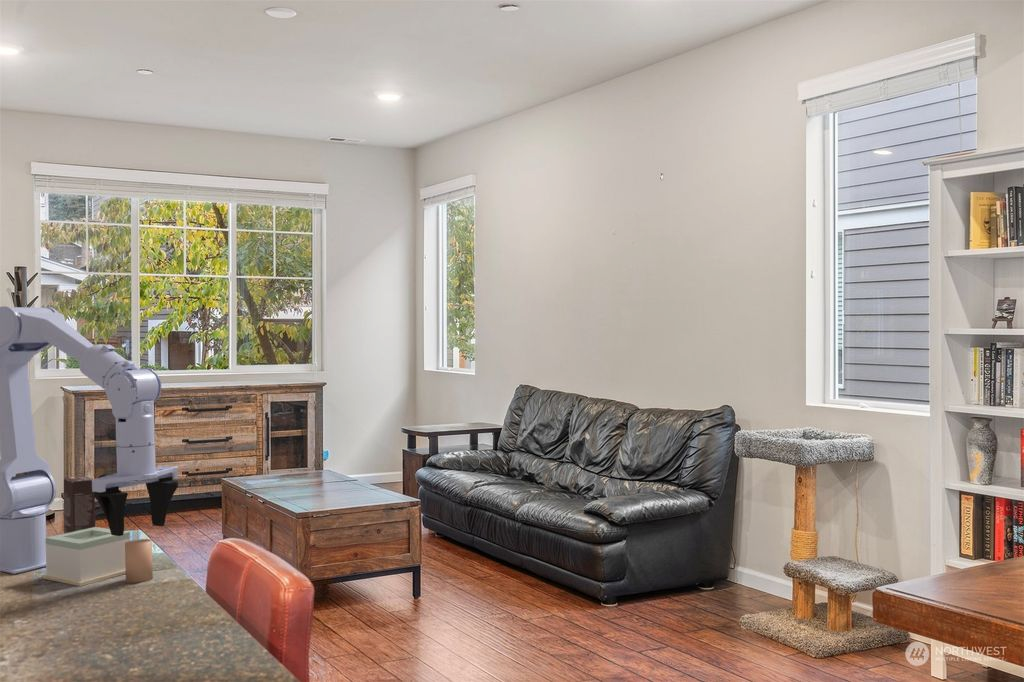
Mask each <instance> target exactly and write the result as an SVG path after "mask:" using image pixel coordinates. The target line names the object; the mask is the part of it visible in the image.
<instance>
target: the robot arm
mask: <svg viewBox="0 0 1024 682" xmlns="http://www.w3.org/2000/svg"><path fill="white" fill-rule="evenodd" d="M49 346H53V347H54V348H56V349H57V350H59V351H61V352H62V353H64V354H65V355H67V356H69V357H70V358H73V359H74V360H75V361H77V362H78V369H79V370H80V372H81V373H82V375H84V376H85V377H87V378H88V379H90V380H91V381H92V382H94V383H95V384H96V385H98V386H99V387H100V388H102V389H103V390H104V391H105V395H106V398H107V400H108V402H109V403H110V405H111V412H112V413H111V415H113V417H114V418H115V442H116V443H115V444H116V446H115V449H116V472H115V473H113V474H109V475H105V476H101V477H96V478H91V479H92V491H93V492H94V497H95V501H97V503H98V504H99V506H100V508H101V510H102V511H103V513H104V515H105V518H106V521H107V524H108V527H109V528H108V529H110V531H111V535H115V536H122V535H123V533H124V531H125V508H126V504H127V503H126V502H127V498H128V495H129V494H128V492H124V491H122V490H121V488H126V487H127V488H128V487H132V486H138V485H144V484H145V486H146V490H147V493H148V496H149V503H150V516H151V517H150V518H151V519H150V520H151V523H152V524H151V525H152V526H155V527H156V526H157V527H164V526H165V523H166V518H167V514H168V511H169V506H170V503H171V501H172V498H173V496H174V494H175V492H176V490H177V489H178V487H179V482H178V480H174V479H179V467H178V466H174V465H169V466H161V467H156V437H155V436H156V435H155V403H156V401H158V399H159V398H160V396H161V393H162V381H161V378H160V377H159V375H158V374H157V373H156V372H155V371H154V369H153V368H151V367H142V368H140V367H137V366H136V365H135V363H134V361H132V360H127V359H126V358H124V357H123V356H121V354H119V353H117V352H116V351H115V349H116V348H115V346H113V345H111V344H100V343H99V344H95V345H94V344H93V343H92V342H90V341H89V340H88V339H87V338H86V337H85V336H83V335H82V333H80V332H79V331H77V330H76V329H75V328H74V327H73V326H72V325H70V324H69V323H68V322H67V321H66V317H65V315H64V314H63V313H61V312H59V311H57V310H56V309H55V308H54V307H52V306H43V307H34V306H33V307H31V306H30V307H28V306H27V307H25V306H24V307H23V306H22V307H20V306H18V307H17V306H16V307H15V306H8V305H7V306H4V305H2V306H0V572H5V573H7V574H8V573H9V574H15V575H16V574H19V573H24V572H28V571H32V570H36V569H39V568H43V567H46V540H45V538H47V517H46V516H47V515H46V512H48V511H50V506H51V505H52V503H54V501H55V498H56V496H57V484H56V480H55V479H54V477H53V476H52V472H51V465H50V463H49V462H47V461H46V460H44V458H42V457H40V456H39V455H38V453H37V448H36V447H37V446H36V438H35V428H34V427H35V426H34V418H33V408H32V401H31V400H32V399H31V389H30V388H31V387H30V381H29V371H28V370H29V369H28V363H29V362H30V361H31V360H32V358H33V357H35V356H36V355H38V354H39V353H40V352H42V351H43V350H45V349H46V348H47V347H49ZM23 473H26V474H23ZM18 474H19V475H18Z"/></svg>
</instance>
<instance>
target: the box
mask: <svg viewBox="0 0 1024 682" xmlns="http://www.w3.org/2000/svg"><path fill="white" fill-rule="evenodd" d="M92 479H93V478H91V477H88V476H77V477H76V476H75V477H74V476H73V477H65V478H64V479H63V534H65V533H70V532H74V531H79V530H84V529H88V528H93V527H96V498H95V497H94V492H93V491H92Z"/></svg>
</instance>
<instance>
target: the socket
mask: <svg viewBox="0 0 1024 682" xmlns="http://www.w3.org/2000/svg"><path fill="white" fill-rule="evenodd" d="M130 533H131V532H130V531H126V530H124V533H123V535H122V536H115V535H111V531H110V528H105V527H99V526H95V527H93V528H88V529H84V530H79V531H74V532H70V533H65V534H64V533H62V534H57V535H51V536H46V538H45V540H46V566H45V567H46V568H45V569H46V570H45V571H46V573H44V574H41V579H44V580H49V581H54V582H59V583H64V584H67V585H73V586H77V587H81V586H85V585H89V584H93V583H96V582H100V581H104V580H107V579H111V578H116V577H119V576H123V575H126V570H125V542H128V541H131V537H130V535H131V534H130Z"/></svg>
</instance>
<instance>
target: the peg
mask: <svg viewBox="0 0 1024 682" xmlns="http://www.w3.org/2000/svg"><path fill="white" fill-rule="evenodd" d="M153 567H154V566H153V541H152V539H149V538H140V539H139V538H138V539H132V540H131V539H130V541H128V542H125V570H126V574H125V582H126V583H128V584H139V583H146V582H149V581H151V580H153V578H154V577H153V576H154V574H153Z"/></svg>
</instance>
